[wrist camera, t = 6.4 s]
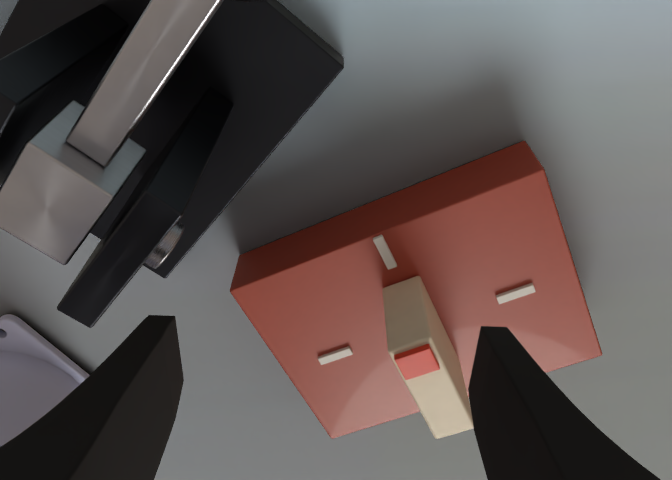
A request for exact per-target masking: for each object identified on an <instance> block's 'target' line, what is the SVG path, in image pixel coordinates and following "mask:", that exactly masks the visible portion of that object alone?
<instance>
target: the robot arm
mask: <svg viewBox="0 0 672 480" xmlns="http://www.w3.org/2000/svg"><path fill="white" fill-rule="evenodd" d="M1 329H3V330H4V331H5V332H4V331H2V330H1ZM183 381H184V379H183V371H182V364H181V357H180V350H179V342H178V335H177V328H176V320H175V316H158V315H149V316H148V317H146V318H145V319H144V320H143V321H142V322H141V323H140V324H139V326H138V327H137V328H136V329H135V330H134V331H133V332H132V333H131V334H130V335H129V336H128V337H127V338H126V339H125V340H124V341H123V342H122V343H121V345H120V346H119V347H118V348H117V349H116V350H115V351H114V352H113V353H112V354H111V355H110V356H109V357H108V358H107V359H106V360H105V361H104V362H103V363H102V364H101V365H100V366H99V367H98V368H97V369H96V370H95V371H94V372H93V373H92V374H91V375H89V374H88V373H87V372H85V371H84V370H83V369H82V368H80V367H79V366H78V365H77V364H75V363H74V362H73V361H72V360H71V359H69V358H68V357H67V356H66V355H64V354H63V353H62V352H61V351H59V350H58V349H57V348H56V347H54V346H53V345H52V344H51V343H50V342H48V341H47V340H46V339H45V338H43V337H42V336H41V335H40V334H38V333H37V332H36V331H35V330H34V329H32V328H31V327H30V326H29V325H27V324H26V323H25V322H24V321H22V320H21V319H20V318H19V317H17V316H15V315H12V314H6V315H3V316H1V317H0V480H154V478H155V475H156V472H157V469H158V467H159V464H160V461H161V458H162V456H163V453H164V450H165V447H166V444H167V441H168V439H169V436H170V433H171V430H172V427H173V424H174V421H175V418H176V413H177V409H178V405H179V400H180V395H181V390H182V386H183ZM468 392H469V399H470V407H471V413H472V420H473V426H474V431H475V435H476V439H477V442H478V446H479V450H480V453H481V457H482V461H483V464H484V468H485V471H486V475H487V478H488V480H660V479H659V478H658V477H656V476H655V475H654V474H652V473H651V472H650V471H648V470H647V469H646V468H644V467H643V466H642V465H641V464H639V463H638V462H637V461H636V460H634V459H633V458H632V457H631V456H629V455H628V454H627V453H626V452H624V451H623V450H622V449H621V448H620V447H619V446H618V445H616V444H615V443H614V442H613V441H612V440H611V439H609V438H608V437H607V436H606V435H605V434H604V433H603V432H602V431H600V430H599V429H598V428H597V427H596V426H595V425H594V424H593V423H592V422H591V421H590V420H589V419H588V418H587V417H586V416H585V415H584V414H583V413H582V412H581V411H580V410H579V409H578V408H577V407H576V406H575V405H574V404H573V403H572V402H571V401H570V400H569V399H568V398H567V397H566V396H565V395H564V393H563V392H562V391H561V390H560V389H559V388H558V387H557V386H556V385H555V383H554V382H553V381H552V380H551V379H550V378H549V377H548V376H547V374H546V373H545V372H544V371H543V370H542V369H541V367H540V366H539V365H538V364H537V363H536V361H535V360H534V359H533V358H532V357H531V355H530V354H529V353H528V352H527V351H526V349H525V348H524V347H523V346H522V344H521V343H520V342H519V341H518V340H517V338H516V337H515V336H514V335H513V333H512V332H511V331H510V330H509V329H508V328H507V327H495V326H481V328H480V333H479V338H478V343H477V348H476V353H475V358H474V363H473V368H472V373H471V377H470V382H469V387H468Z"/></svg>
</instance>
